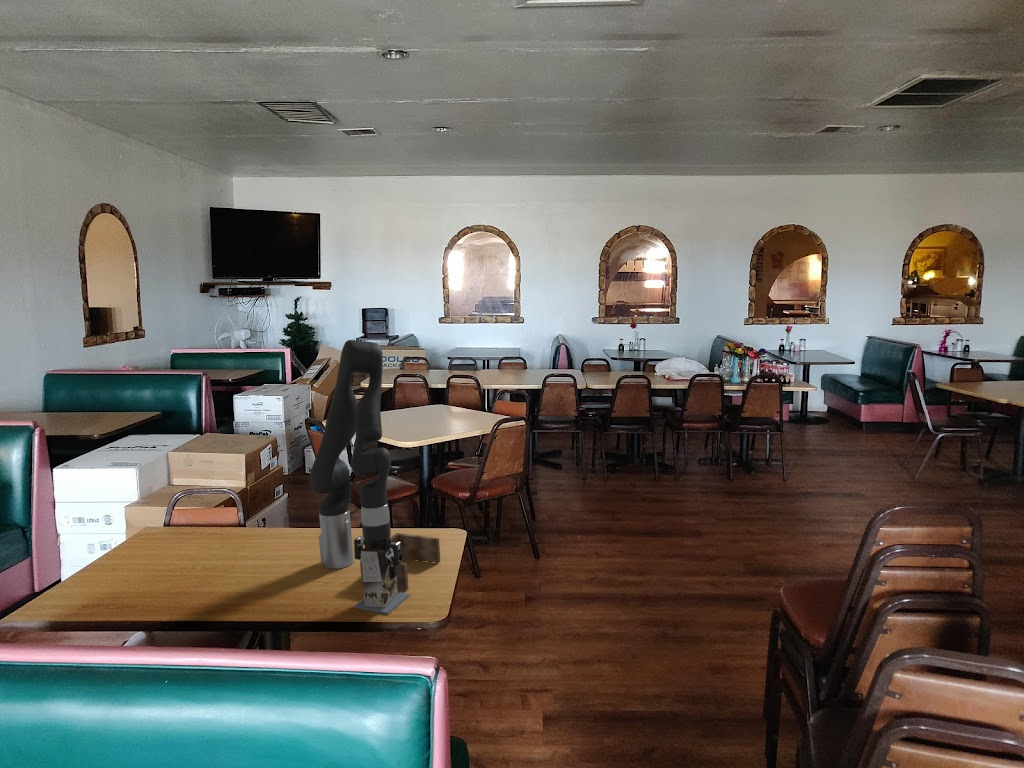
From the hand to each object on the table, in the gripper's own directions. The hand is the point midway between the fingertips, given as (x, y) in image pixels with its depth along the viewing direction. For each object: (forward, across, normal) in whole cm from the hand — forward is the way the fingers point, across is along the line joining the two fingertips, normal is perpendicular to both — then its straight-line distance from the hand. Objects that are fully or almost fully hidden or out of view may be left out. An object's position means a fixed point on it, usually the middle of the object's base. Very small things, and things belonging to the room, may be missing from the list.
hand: (380, 576), depth 191 cm
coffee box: (+7, 0, 0) cm, 7 cm away
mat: (+8, 0, 0) cm, 8 cm away
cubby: (+8, -5, +18) cm, 20 cm away
